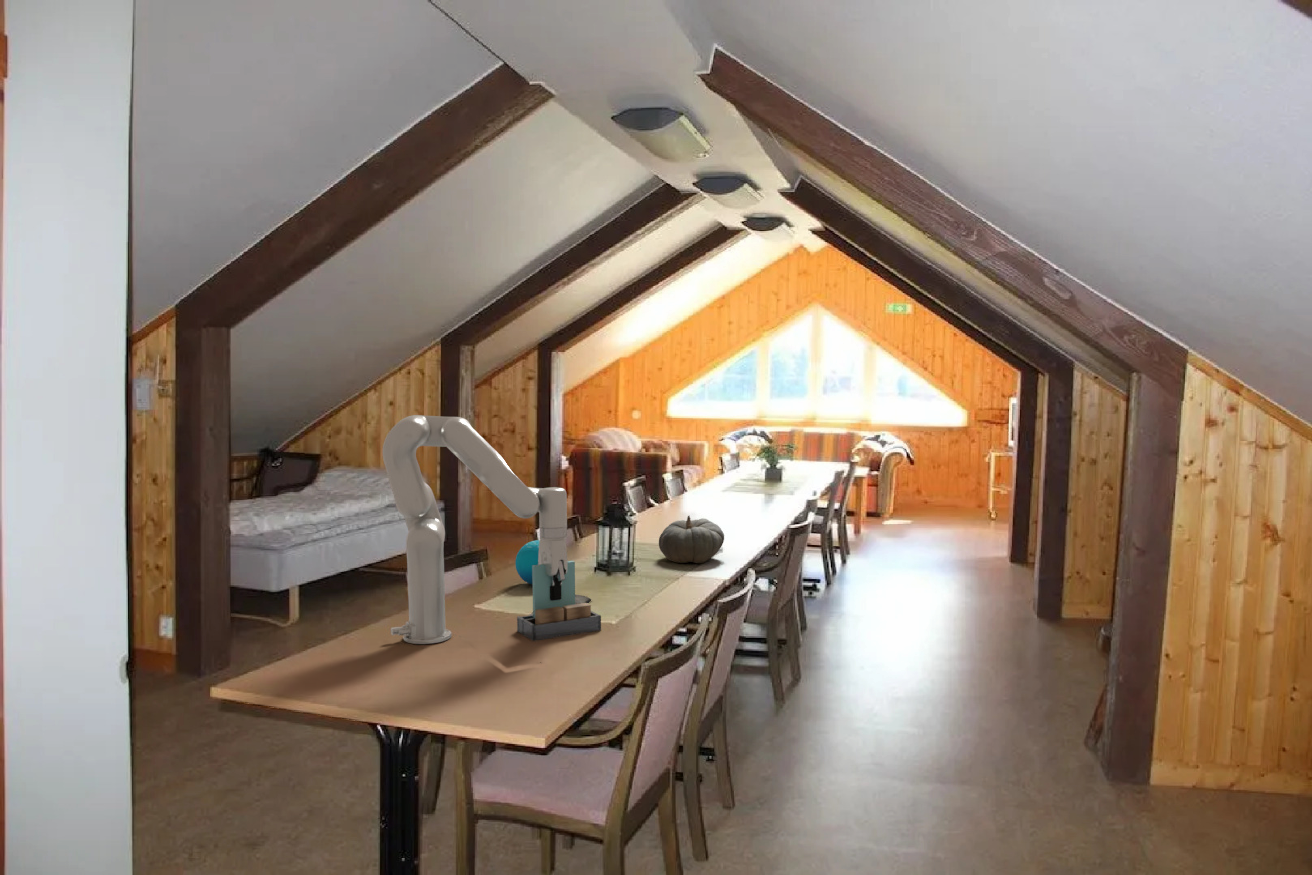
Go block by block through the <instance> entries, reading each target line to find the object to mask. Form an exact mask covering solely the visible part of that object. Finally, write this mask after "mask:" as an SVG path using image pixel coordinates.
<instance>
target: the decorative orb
mask: <svg viewBox="0 0 1312 875" xmlns="http://www.w3.org/2000/svg"><path fill="white" fill-rule="evenodd" d="M539 542H540V539H539V540H537V539H536V540H532V541H529V542H527V543H525V544H523V546H522V547H520V549H519V551H518V552H517V554H516V556H515V569H516V572H517V574H518V576H519V577H520V579H522V581H524V582H525V583H527V584H529V585H532V586H533V583H532V565H538V555H539Z"/></svg>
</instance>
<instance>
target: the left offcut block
mask: <svg viewBox="0 0 1312 875" xmlns="http://www.w3.org/2000/svg"><path fill="white" fill-rule="evenodd" d="M563 620H564V609H563V608H561V607H553V608H546V609H539V610H535V625H537V624H543V623H550V622H557V621H563Z"/></svg>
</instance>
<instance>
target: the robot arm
mask: <svg viewBox="0 0 1312 875" xmlns="http://www.w3.org/2000/svg"><path fill="white" fill-rule="evenodd" d="M419 447H436V448H437V447H438V448H439V447H440V448H441V447H442V448H444V447H446V448H447V449H448V450H449V451H450V452H451V453H452V454H453V455H454V456H455V457H457V459H459V460H460V462H462V463H463V465H465V466H466V467H467V468H468V470H470V472H471V473H473V475H474V476H476V477H477V478H478V480H480V482H481V483H482V484H484V486H486V487H487V488H488V489H489V491H491V492H492V493H493V494H494V496H496V497H497V498H498V500H500V502H502V503H503V504H504V505H505V506H506V507H507V508H508V509H509V510H510V511H511V512H512V513H513V514H514V515H515V516H517V517H518V518H521V519H530V518H533V517H534V516H535V515H536V514H537V513H539V516H538V517H539V521H538V522H539V527H538V528H539V540H540V542H539V555H538V565H540V564H544V565H546V566H545V572H546V574H547V575H548V576H551V586H550V600H551V601H553V600H560V599H561V585H562V581H563V580H565V577H564V575H565V574H566V573H567V567H568V563H567V561H568V550H567V549H568V548H567V538H568V515H567V514H568V507H567V506H568V503H567V502H568V501H567V499H568V498H567V497H568V495H567V491H566V489H565V488H563V487H556V486H553V487H544V488H542V487H530V486H527V485H526V484H525V483H524V481H522V480H521V479H520V478H519V477H518V476H517V475H516V474H515V473H514V472H513V471H512V469H511V468H510V467H509V465H508V464H507V463H506V461H505V459H504V458H503V457H502V455H501V454H500V453H499V452H498V451H497V450H496V449H495V448H494V447H493V446H491V444H490V443H489V442H488V441H486V439H485V438H484V437H483V436H481V435H480V433H479V432H478V431H476V430H475V429H474V427H472V425H471V423H470V421H468V420H467V419H466V418H464V417H461V416H440V415H439V416H438V415H437V416H436V415H423V414H422V415H421V414H420V415H419V414H413V415H409V416H405V417H404V418H402V419H400V420H399V421H398V422H397V423H396V424H394V425H393V427H392V428H391V429H390V430H389V432H388V433H387V434H386V436H385V439H384V442H383V445H382V459H383V463H384V468H385V471H386V475H387V478H388V482H389V484H390V488H391V492H392V495H393V499H394V502H395V506H396V509H397V511H398V512H399V514H400V515H402V517H403V518H404V521H405V524H406V529H407V530H408V533H407V535H406V540H405V548H406V550H405V551H406V563H407V564H406V566H407V588H408V589H407V591H408V592H407V593H408V596H407V597H408V621H405V624H403V625H402V626H395V627H390V633H391V635H392V636H395V635H398V636H402V637H403V641H404V642H406V643H409V644H413V645H430V644H437V643H441V642H445V641H448V640H449V639H451V638H452V631H451V630H449V629H447V628H446V602H445V600H446V597H445V596H446V591H445V560H444V559H445V556H444V555H445V554H444V544H445V543H444V542H445V539H446V538H445V537H446V530H445V525H444V523H443V518H442V517H441V514H440V510H439V508H438V504H437V501H436V498H435V495H434V492H433V489H432V488H431V487H430V486H429V484H428V483H427V482H425V481H424V478H423V475H422V472H421V468H420V465H419V462H418V459H417V455H416V454H417V449H418V448H419ZM556 573H558V574H556ZM555 577H556V578H555Z"/></svg>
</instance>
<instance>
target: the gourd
mask: <svg viewBox="0 0 1312 875" xmlns="http://www.w3.org/2000/svg"><path fill="white" fill-rule="evenodd" d="M724 541H725V534H724V532H723V530H722V528H721V526H719V525H718V524H717V523H714V522H712V521H711V520H709V519H707V518H704V517H703V518H699V519H691V517H690V515H687V518H686V520H683V519H682V520H675V521H673V522H671V523H670V524H669V525H668V526H666V527H665V528H664V530H662V532H661V533H660V536H659V537H658V546H659V550H660V551H661V553H662V554H663V556H664V557H665V558H666V559H667V560H669V561H670V562H674V563H680V564H687V563H689V562H692V563H694V564H702V563H706V562H707V561H709V560H710V559H712V558H713V557H714V556H715V555H716V554H717V553H718V552H720V550H721V548H722V547H723V544H724Z"/></svg>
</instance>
